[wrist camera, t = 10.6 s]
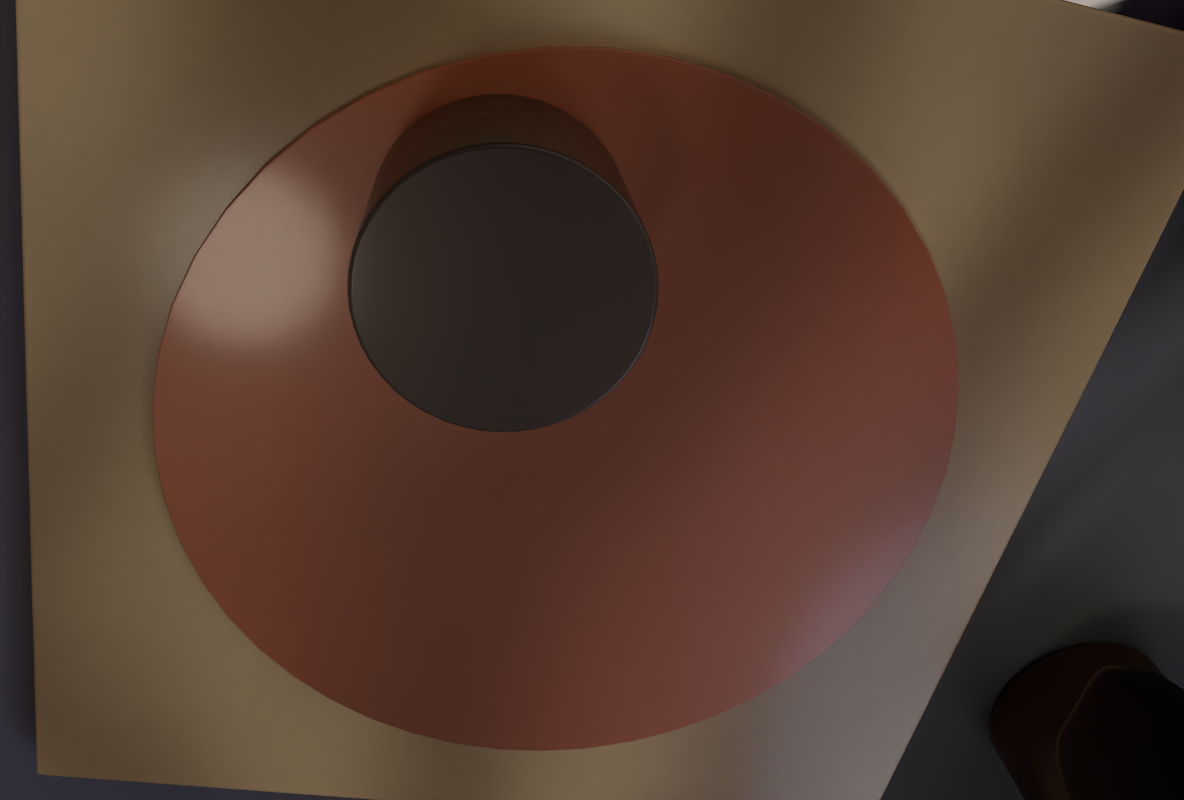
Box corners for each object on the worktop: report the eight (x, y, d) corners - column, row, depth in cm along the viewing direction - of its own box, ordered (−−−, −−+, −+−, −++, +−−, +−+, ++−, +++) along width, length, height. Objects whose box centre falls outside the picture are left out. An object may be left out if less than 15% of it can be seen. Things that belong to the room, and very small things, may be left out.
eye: (657, 123, 15) (695, 178, 12) (597, 360, 17) (619, 452, 14) (387, 66, 14) (367, 112, 12) (354, 321, 16) (330, 411, 13)
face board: (1230, 43, 16) (1263, 51, 16) (854, 815, 24) (866, 844, 23) (24, -266, 13) (-2, -274, 12) (46, 753, 21) (30, 784, 20)
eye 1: (1190, 650, 23) (1284, 754, 20) (1110, 776, 24) (1187, 887, 22) (1032, 631, 22) (1108, 736, 19) (961, 763, 24) (1022, 876, 21)
